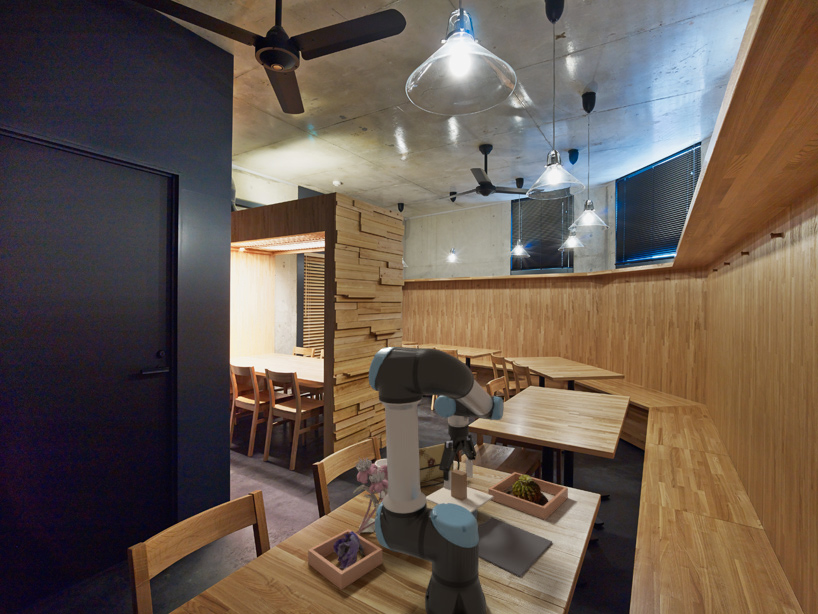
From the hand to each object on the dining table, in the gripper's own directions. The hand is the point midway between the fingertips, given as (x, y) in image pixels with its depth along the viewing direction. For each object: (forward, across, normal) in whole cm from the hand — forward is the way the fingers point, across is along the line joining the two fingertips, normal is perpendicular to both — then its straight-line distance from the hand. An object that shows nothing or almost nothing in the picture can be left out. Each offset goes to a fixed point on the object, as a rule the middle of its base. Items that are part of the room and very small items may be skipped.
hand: (458, 482), depth 140 cm
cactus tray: (+12, +29, -13) cm, 34 cm away
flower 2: (+12, -24, +12) cm, 29 cm away
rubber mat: (+12, -5, -21) cm, 25 cm away
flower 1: (+12, -43, +9) cm, 46 cm away
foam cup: (+12, -7, +31) cm, 34 cm away
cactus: (+12, +27, -13) cm, 32 cm away
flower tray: (+12, -45, +9) cm, 47 cm away
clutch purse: (+12, +15, +25) cm, 32 cm away
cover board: (+6, 0, 0) cm, 6 cm away
